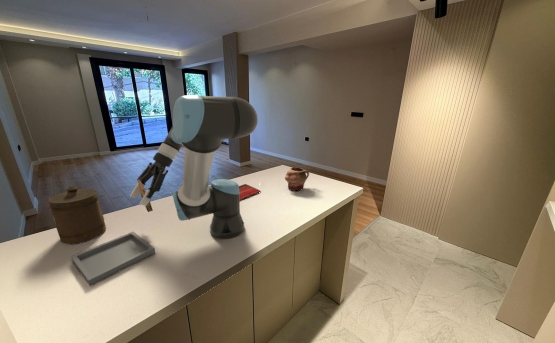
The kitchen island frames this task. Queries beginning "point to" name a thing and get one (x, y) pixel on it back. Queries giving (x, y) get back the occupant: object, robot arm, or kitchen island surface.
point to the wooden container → (77, 215)
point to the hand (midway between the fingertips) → (137, 201)
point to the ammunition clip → (142, 190)
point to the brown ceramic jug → (296, 178)
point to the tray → (111, 257)
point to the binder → (247, 191)
